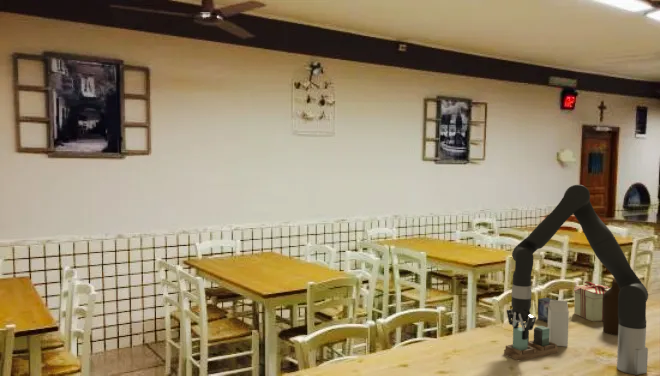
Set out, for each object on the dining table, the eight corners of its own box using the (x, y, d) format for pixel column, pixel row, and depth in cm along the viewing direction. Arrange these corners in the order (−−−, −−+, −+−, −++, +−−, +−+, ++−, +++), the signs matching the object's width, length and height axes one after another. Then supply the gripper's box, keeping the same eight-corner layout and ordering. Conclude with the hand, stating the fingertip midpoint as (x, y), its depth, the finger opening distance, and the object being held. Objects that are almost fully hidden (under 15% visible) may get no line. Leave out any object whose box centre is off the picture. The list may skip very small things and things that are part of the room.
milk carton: (567, 347, 238) (569, 303, 237) (550, 345, 240) (551, 302, 239) (564, 341, 245) (565, 299, 244) (547, 340, 247) (548, 298, 246)
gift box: (567, 314, 290) (568, 281, 289) (595, 311, 295) (597, 279, 294) (591, 323, 274) (592, 288, 273) (621, 320, 279) (622, 286, 278)
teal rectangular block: (528, 349, 226) (529, 329, 226) (520, 350, 224) (520, 331, 224) (521, 346, 230) (521, 326, 229) (512, 347, 228) (513, 328, 227)
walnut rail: (557, 352, 231) (558, 328, 231) (518, 360, 221) (519, 335, 221) (542, 346, 238) (543, 323, 238) (504, 354, 228) (504, 330, 228)
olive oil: (621, 337, 252) (623, 282, 251) (597, 331, 261) (599, 278, 259) (631, 332, 259) (633, 279, 258) (608, 327, 267) (609, 275, 266)
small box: (536, 319, 280) (537, 298, 280) (546, 317, 283) (546, 297, 283) (553, 324, 271) (553, 303, 270) (563, 323, 274) (563, 302, 273)
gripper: (542, 299, 221) (540, 341, 222) (515, 291, 234) (513, 331, 235) (528, 301, 218) (527, 344, 218) (501, 293, 230) (500, 334, 231)
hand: (520, 337), depth 226 cm, fingers closed on teal rectangular block, 4 cm apart
